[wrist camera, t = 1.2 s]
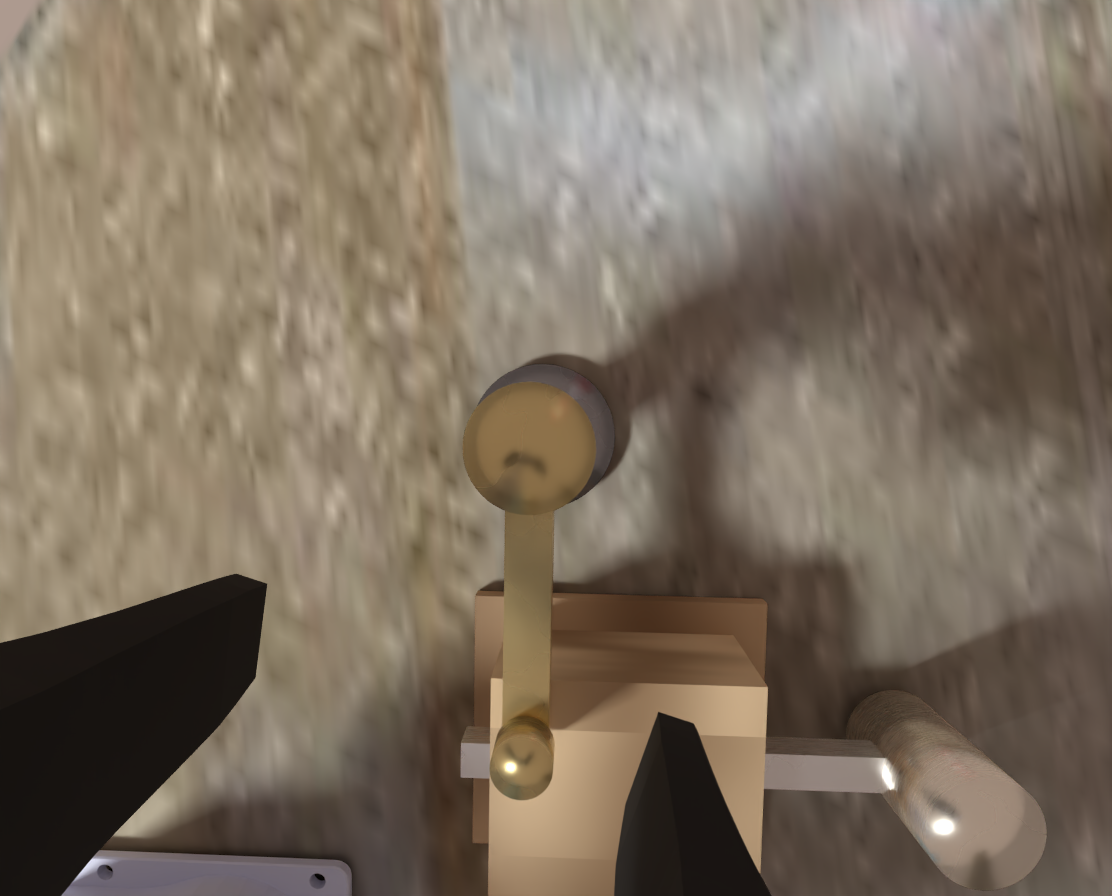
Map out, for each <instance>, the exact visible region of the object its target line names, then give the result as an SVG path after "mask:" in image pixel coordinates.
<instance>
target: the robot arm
mask: <svg viewBox="0 0 1112 896" xmlns="http://www.w3.org/2000/svg"><path fill="white" fill-rule="evenodd" d="M266 589H267V584H266V583H263V582H260V581H257V580H254V579H251V578H248V577H245V576H242V575H239V574H233V575H229V576H226V577H222V578H219V579H215V580H212V581H209V582H206V583H203V584H199V585H196V586H193V587H190V588H187V589H184V590H181V591H178V592H175V593H172V594H169V595H166V596H163V597H160V598H157V599H154V600H151V601H148V602H145V603H142V604H138V605H135V606H132V607H129V608H126V609H123V610H120V611H117V612H114V613H110V614H107V615H103V616H100V617H96V618H93V619H89V620H86V621H82V622H79V623H75V624H72V625H68V626H65V627H62V628H58V629H55V630H51V631H48V632H44V633H40V634H36V635H32V636H28V637H24V638H20V639H16V640H11V641H7V642H3V643H0V896H352V874H351V869H350V868H349V866H348V865H347V864H346V863H344V862H343V861H339V860H327V859H302V858H278V857H254V856H230V855H206V854H182V853H158V852H133V851H109V850H100V849H101V848H102V847H103V846H104V844H105V843H106V842H107V841H108V840H109V839H110V838H111V837H112V836H113V835H114V833H115V832H116V831H117V830H118V829H119V828H120V827H121V826H122V825H123V824H124V823H125V822H126V821H127V820H128V819H129V818H130V817H131V816H132V815H133V814H134V813H135V812H136V811H137V810H138V809H139V808H140V807H141V806H142V805H143V804H144V803H145V802H146V801H147V800H148V799H149V798H150V797H151V796H152V795H153V794H154V792H155V791H156V790H157V789H158V788H159V787H160V786H161V785H162V784H163V783H164V782H165V781H166V780H167V779H168V778H169V777H170V776H171V775H172V774H173V773H174V772H175V771H176V770H177V769H178V768H179V767H180V766H181V765H182V764H183V763H184V762H185V761H186V760H187V759H188V758H189V757H190V756H191V755H192V754H193V753H194V752H195V750H196V749H197V748H198V747H199V746H200V745H201V744H202V743H203V742H204V741H205V740H206V739H207V738H208V737H209V736H210V735H211V734H212V733H213V732H214V731H215V730H216V728H217V727H218V726H219V725H220V724H221V723H222V721H223V720H224V719H225V718H226V716H227V715H228V714H229V712H230V711H231V710H232V709H233V707H234V706H235V705H236V703H237V702H238V701H239V699H240V698H241V697H242V695H243V694H244V693H245V691H246V690H247V688H248V687H249V686H250V684H251V683H252V682H253V680H254V679H255V677H256V669H257V661H258V653H259V645H260V637H261V629H262V621H263V613H264V605H265V597H266ZM106 865H109V866H110V867H111V868H112V870H113V872H112V871H109V870H108V869H107V868H106ZM317 873H318V874H321V875H323V876H324V877H325V880H323V881H321V880H318V879H317V878H316V877H315V874H317ZM614 896H771V894H770V892H769V890H768V888H767V887H766V885H765V883H764V881H763V879H762V877H761V875H760V873H759V871H758V869H757V867H756V865H755V864H754V862H753V860H752V858H751V856H750V854H749V852H748V849H747V847H746V845H745V843H744V841H743V839H742V837H741V835H740V833H739V830H738V828H737V826H736V824H735V822H734V819H733V817H732V815H731V813H730V811H729V808H728V806H727V804H726V802H725V799H724V797H723V795H722V792H721V790H720V788H719V785H718V783H717V780H716V778H715V775H714V773H713V770H712V768H711V765H710V763H709V760H708V757H707V755H706V752H705V749H704V747H703V744H702V741H701V739H700V736H699V733H698V731H697V729H696V727H695V725H694V723H691V722H688V721H685V720H682V719H679V718H676V717H673V716H670V715H667V714H664V713H661V712H658V714H657V717H656V720H655V723H654V725H653V728H652V731H651V734H650V737H649V739H648V742H647V745H646V748H645V750H644V753H643V756H642V759H641V762H640V764H639V767H638V770H637V773H636V776H635V778H634V781H633V784H632V787H631V790H630V792H629V795H628V798H627V801H626V804H625V809H624V815H623V821H622V828H621V834H620V840H619V846H618V853H617V860H616V869H615V886H614Z"/></svg>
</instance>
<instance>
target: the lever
mask: <svg viewBox="0 0 1112 896" xmlns="http://www.w3.org/2000/svg"><path fill="white" fill-rule="evenodd" d="M595 457H596V440H595V435H594V431H593V428H592V425H591V422H590V420H589V418H588V416H587V414H586V413H585V411H584V410H583V408H582V407H581V406H580V405H579V403H578V402H577V401H576V400H574V399H573V398H572V397H571V396H570V395H568V394H567V393H565V392H564V391H562V390H560V389H558V388H556V387H553V386H551V385H548V384H543V383H539V382H520V383H514V384H511V385H507V386H504V387H502V388H500V389H498V390H496V391H495V392H493V393H491V394H490V395H489V396H487V397H486V398H485V399H484V400H483V401H482V402H481V403H480V404H479V405H478V406H477V407H476V409H475V410H474V412H473V413H472V415H471V417H470V419H469V421H468V423H467V426H466V429H465V433H464V437H463V459H464V464H465V467H466V471H467V473H468V476H469V478H470V480H471V482H472V483H473V485H474V486H475V488H476V489H477V490H478V491H479V493H480V494H481V495H482V496H483V497H484V498H485V499H487V500H488V501H489V502H490V503H492V504H493V505H495V506H497V507H499V508H501V509H502V510H505V556H504V625H503V695H502V727H501V728H500V730H499V732H498V734H497V737H496V741H495V745H494V749H493V753H492V757H491V761H490V767H489V771H490V777H491V780H492V782H493V784H494V786H495V787H496V788H497V790H498V791H499V792H501V793H502V794H503V795H505V796H507V797H508V798H511V799H515V800H529V799H533V798H535V797H537V796H539V795H540V794H542V793H543V792H544V791H545V790H546V789H547V787H548V786H549V784H550V782H551V779H552V775H553V764H554V750H555V741H554V737H553V734H552V732H551V730H550V712H551V660H552V608H553V556H554V510H557V509H559V508H561V507H563V506H564V505H566V504H567V503H569V502H570V501H571V500H572V499H574V498H575V497H576V496H577V495H578V494H579V493H580V492H581V490H582V489H583V488H584V486H585V485H586V483H587V481H588V479H589V478H590V476H591V473H592V470H593V467H594V463H595Z"/></svg>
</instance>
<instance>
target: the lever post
mask: <svg viewBox="0 0 1112 896" xmlns="http://www.w3.org/2000/svg"><path fill="white" fill-rule="evenodd" d="M520 382H539V383H543V384H548V385H551V386H553V387H556V388H558V389H560V390H562V391H564V392H565V393H567V394H568V395H570V396H571V397H572V398H573V399H574V400H576V401H577V402H578V403H579V405H580V406H581V407H582V408H583V410H584V411H585V413H586V414H587V416H588V418H589V420H590V422H591V425H592V428H593V431H594V435H595V440H596V457H595V463H594V467H593V470H592V473H591V476H590V478H589V479H588V481H587V483H586V485H585V486H584V488H583V489H582V490H581V492H580V493H579V494H578V495H577V496H576V497H575V498H574V499H572V500H571V501H570V502H569V503H571V502H573V501H575V500H577V499H579V498H580V497H582V496H583V495H585V494H586V493H587V492H589V491H590V490H591V489H592V488H593V487H594V486H595V485H596V484H597V483H598V482H599V480H600V479H601V478H602V476H603V475H604V473H605V471H606V469H607V468H608V466H609V463H610V460H611V458H612V454H613V449H614V441H615V431H614V423H613V418H612V415H611V412H610V409H609V407H608V405H607V403H606V401H605V399H604V398H603V396H602V395H601V393H600V392H599V391H598V390H597V388H596V387H595V386H594V385H593V384H592V383H591V382H590V381H588V380H587V379H586V378H584V377H583V376H582V375H580V374H578V373H576V372H574V371H572V370H570V369H567V368H565V367H561V366H557V365H550V364H534V365H528V366H524V367H521V368H518V369H515V370H513V371H511V372H509V373H507V374H505V375H504V376H502V377H501V378H499V379H498V380H497V381H496V382H495V383H493V384H492V385H491V386H490V388H489V389H488V390H487V391H486V392H485V394H484V395H483V397H482V398H481V400H480V402H479V404H480V403H481V402H482V401H483V400H484V399H485V398H486V397H487V396H489V395H490V394H491V393H493V392H495V391H496V390H498V389H500V388H502V387H504V386H507V385H511V384H514V383H520ZM479 404H478V405H479ZM478 405H477V406H478ZM567 504H568V503H567Z"/></svg>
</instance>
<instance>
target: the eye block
mask: <svg viewBox="0 0 1112 896" xmlns="http://www.w3.org/2000/svg"><path fill="white" fill-rule="evenodd" d="M767 609H768V604H767V603H766V602H765V601H764V600H763V599H756V598H720V597H685V596H650V595H614V594H579V593H553V608H552V660H551V712H550V730H551V732H552V734H553V737H554V741H555V750H554V764H553V775H552V779H551V782H550V784H549V786H548V787H547V789H546V790H545V791H544V792H543V793H542V794H540V795H539V796H537V797H535V798H533V799H529V800H515V799H511V798H508V797H507V796H505V795H503V794H502V793H501V792H499V791H498V790H497V788H496V787H495V786H494V784H493V782H492V780H491V777H490V779H486V778H473V839H472V843H488V844H489V860H488V896H614V886H615V869H616V860H617V853H618V846H619V840H620V834H621V828H622V821H623V815H624V809H625V804H626V801H627V798H628V795H629V792H630V790H631V787H632V784H633V781H634V778H635V776H636V773H637V770H638V767H639V764H640V762H641V759H642V756H643V753H644V750H645V748H646V745H647V742H648V739H649V737H650V734H651V731H652V728H653V725H654V723H655V720H656V717H657V714H658V712H661V713H664V714H667V715H670V716H673V717H676V718H679V719H682V720H685V721H688V722H691V723H694V725H695V727H696V729H697V731H698V733H699V736H700V739H701V741H702V744H703V747H704V749H705V752H706V755H707V757H708V760H709V763H710V765H711V768H712V770H713V773H714V775H715V778H716V780H717V783H718V785H719V788H720V790H721V792H722V795H723V797H724V799H725V802H726V804H727V806H728V808H729V811H730V813H731V815H732V817H733V819H734V822H735V824H736V826H737V828H738V830H739V833H740V835H741V837H742V839H743V841H744V843H745V845H746V847H747V849H748V852H749V854H750V856H751V858H752V860H753V862H754V864H755V865H756V867H757V869H758V871H759V873H760V870H761V846H762V821H763V797H764V772H765V748H766V723H767V699H768V687H767V685H766V684H765V658H766V633H767ZM503 625H504V591H478V592H477V594H476V596H475V666H474V727H490V761H491V757H492V753H493V749H494V745H495V741H496V737H497V734H498V732H499V730H500V728H501V727H502V695H503Z"/></svg>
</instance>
